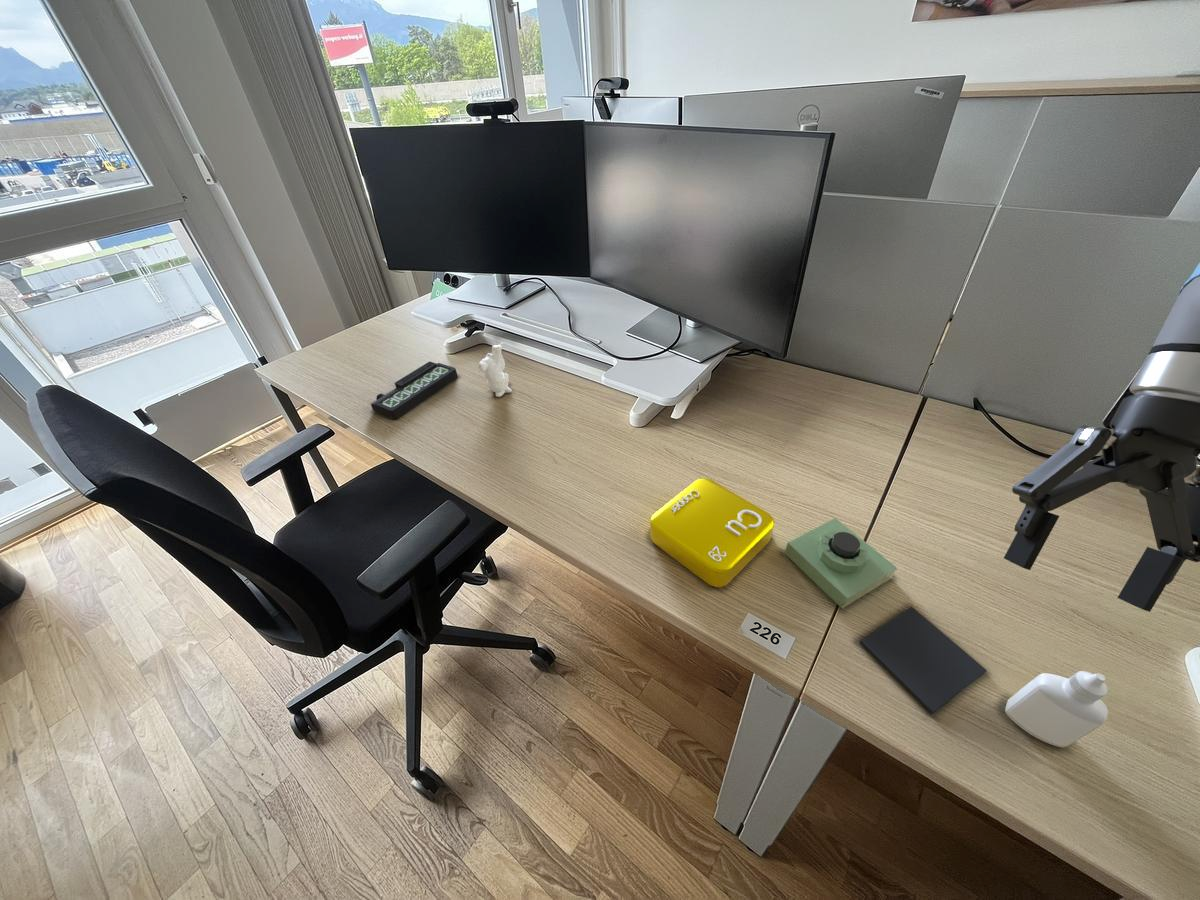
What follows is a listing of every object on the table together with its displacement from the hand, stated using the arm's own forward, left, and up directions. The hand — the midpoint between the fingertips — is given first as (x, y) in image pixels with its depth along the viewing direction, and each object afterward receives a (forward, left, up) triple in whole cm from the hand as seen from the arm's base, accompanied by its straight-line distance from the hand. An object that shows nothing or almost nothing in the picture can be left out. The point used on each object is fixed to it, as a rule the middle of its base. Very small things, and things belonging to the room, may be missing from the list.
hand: (1074, 584), depth 51 cm
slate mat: (+5, +12, -13) cm, 18 cm away
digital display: (+108, +58, -13) cm, 123 cm away
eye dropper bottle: (-7, +8, -13) cm, 17 cm away
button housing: (+20, +10, -13) cm, 25 cm away
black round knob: (+20, +10, -9) cm, 24 cm away
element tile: (+33, +23, -13) cm, 43 cm away
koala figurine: (+96, +39, -13) cm, 104 cm away
